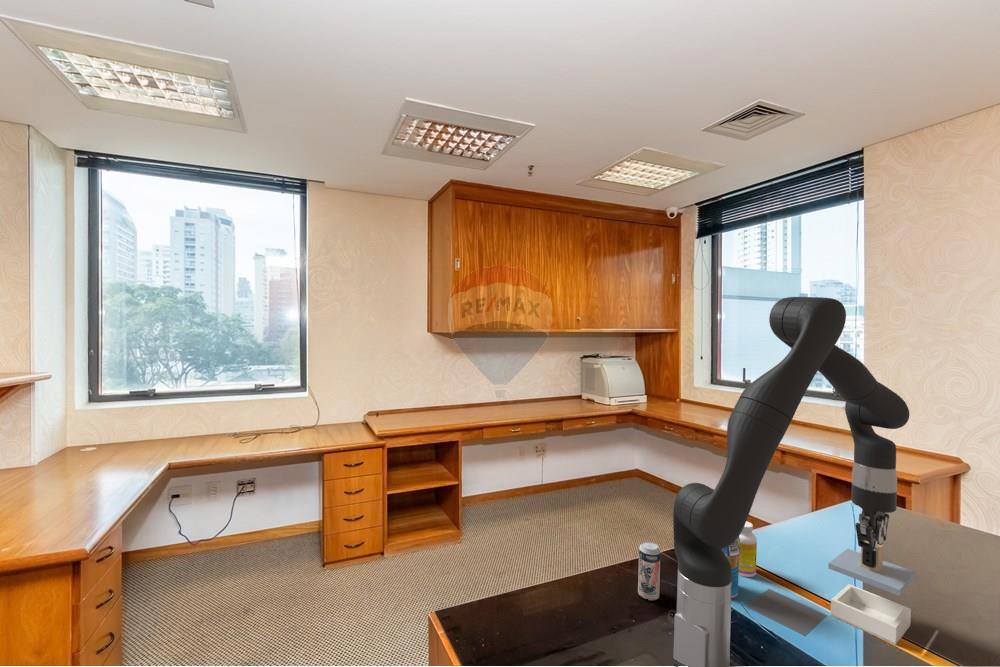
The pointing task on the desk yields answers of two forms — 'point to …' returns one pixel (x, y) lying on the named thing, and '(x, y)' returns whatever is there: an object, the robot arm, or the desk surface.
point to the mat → (786, 611)
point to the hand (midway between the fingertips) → (871, 563)
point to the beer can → (649, 571)
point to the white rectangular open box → (871, 613)
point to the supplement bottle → (747, 551)
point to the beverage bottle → (733, 564)
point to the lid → (873, 571)
